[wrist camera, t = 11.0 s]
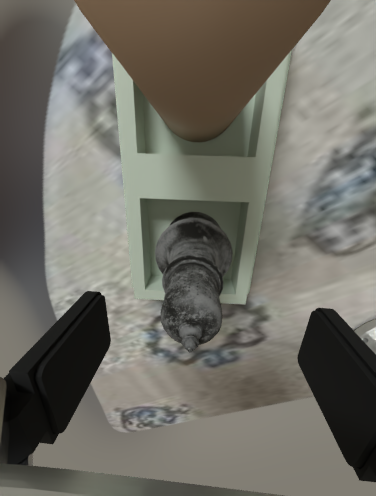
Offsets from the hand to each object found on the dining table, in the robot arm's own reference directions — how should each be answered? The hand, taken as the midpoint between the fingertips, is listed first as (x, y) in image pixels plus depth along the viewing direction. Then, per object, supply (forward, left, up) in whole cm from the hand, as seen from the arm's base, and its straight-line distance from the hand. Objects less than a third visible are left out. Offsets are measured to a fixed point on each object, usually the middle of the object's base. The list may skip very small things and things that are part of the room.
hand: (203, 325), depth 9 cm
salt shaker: (0, +1, -10) cm, 10 cm away
